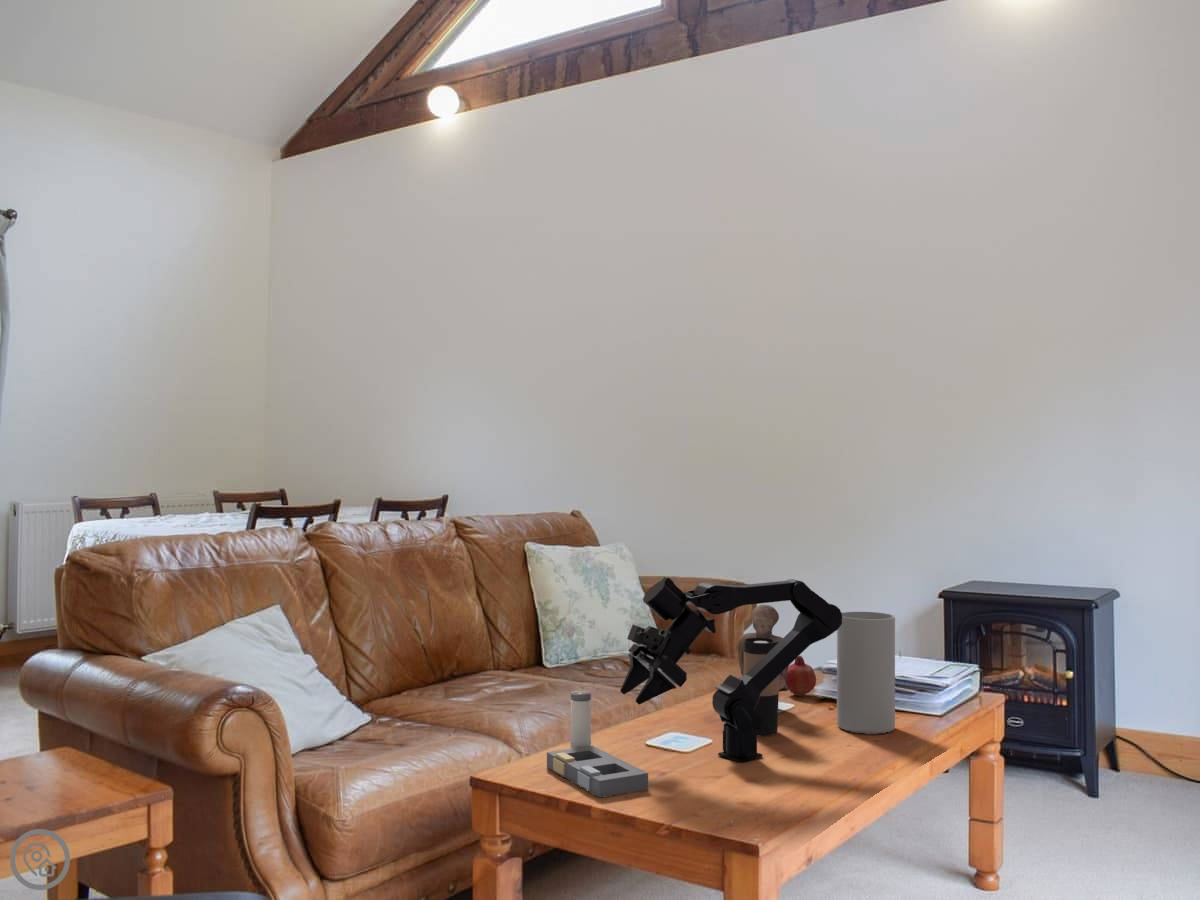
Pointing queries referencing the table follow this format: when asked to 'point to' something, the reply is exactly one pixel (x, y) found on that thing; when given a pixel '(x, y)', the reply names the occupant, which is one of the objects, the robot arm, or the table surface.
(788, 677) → the fruit
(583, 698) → the white dome-top cylinder
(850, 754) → the table surface
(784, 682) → the clay figurine
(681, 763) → the table surface
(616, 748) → the table surface
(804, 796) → the table surface
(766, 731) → the travel mug
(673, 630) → the robot arm
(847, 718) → the cylinder vase
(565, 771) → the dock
